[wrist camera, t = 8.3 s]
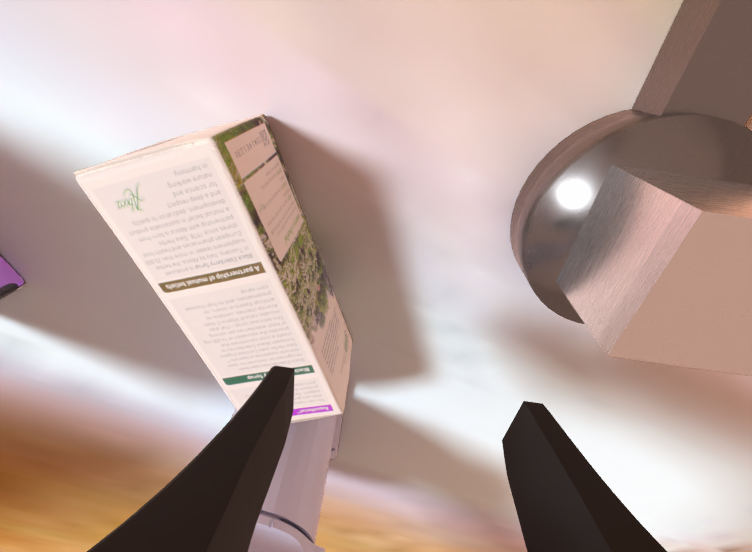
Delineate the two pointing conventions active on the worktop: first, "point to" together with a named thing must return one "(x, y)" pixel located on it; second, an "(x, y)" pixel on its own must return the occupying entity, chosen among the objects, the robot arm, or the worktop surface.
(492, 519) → the worktop surface
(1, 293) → the candy box
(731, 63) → the ratchet
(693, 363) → the beige small block
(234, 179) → the syrup box
